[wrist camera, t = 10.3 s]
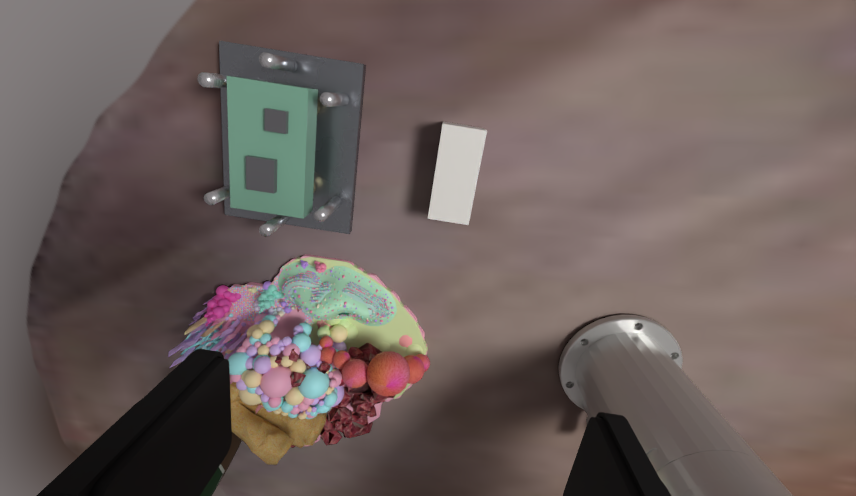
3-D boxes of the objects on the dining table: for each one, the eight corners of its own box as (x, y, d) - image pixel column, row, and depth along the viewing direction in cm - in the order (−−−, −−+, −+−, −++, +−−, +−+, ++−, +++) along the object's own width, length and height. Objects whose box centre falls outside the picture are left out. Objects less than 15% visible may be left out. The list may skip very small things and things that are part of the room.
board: (312, 210, 35) (300, 220, 32) (244, 200, 35) (226, 209, 32) (318, 89, 31) (305, 88, 28) (242, 77, 31) (222, 75, 28)
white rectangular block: (466, 213, 38) (468, 225, 34) (429, 208, 38) (427, 218, 34) (482, 127, 35) (486, 130, 32) (442, 121, 35) (442, 123, 32)
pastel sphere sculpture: (341, 462, 50) (320, 538, 42) (169, 371, 46) (106, 433, 38) (458, 325, 43) (462, 382, 34) (264, 201, 39) (212, 230, 30)
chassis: (351, 230, 39) (335, 252, 33) (230, 211, 39) (193, 230, 33) (365, 65, 34) (350, 58, 28) (225, 42, 33) (181, 30, 28)
